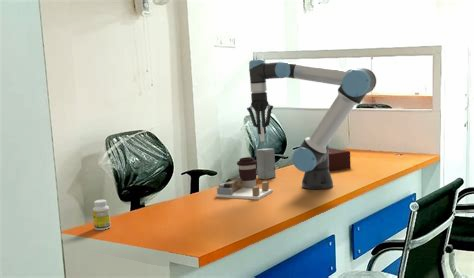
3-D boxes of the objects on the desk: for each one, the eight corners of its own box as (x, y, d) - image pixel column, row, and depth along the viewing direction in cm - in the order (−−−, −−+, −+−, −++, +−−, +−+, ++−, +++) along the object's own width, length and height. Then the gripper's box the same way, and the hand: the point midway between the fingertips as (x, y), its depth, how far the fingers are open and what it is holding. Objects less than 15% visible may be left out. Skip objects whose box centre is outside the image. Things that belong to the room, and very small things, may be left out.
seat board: (272, 191, 266) (272, 181, 266) (259, 199, 252) (258, 188, 252) (231, 189, 276) (230, 179, 275) (216, 196, 262) (215, 185, 261)
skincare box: (265, 179, 295) (264, 150, 293) (256, 178, 301) (255, 149, 299) (276, 177, 301) (275, 148, 299) (267, 175, 306) (266, 147, 304)
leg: (237, 187, 274) (236, 177, 273) (242, 187, 273) (242, 177, 272) (224, 193, 262) (223, 182, 261) (230, 193, 261) (229, 183, 260)
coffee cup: (254, 189, 271) (252, 159, 269) (235, 189, 275) (233, 159, 273) (261, 185, 280) (259, 156, 278) (243, 185, 284) (241, 156, 282)
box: (352, 168, 318) (352, 150, 316) (330, 171, 310) (329, 154, 308) (329, 163, 336) (329, 147, 334) (307, 166, 328) (307, 150, 327)
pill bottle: (95, 226, 221) (93, 199, 219) (111, 225, 221) (109, 198, 220) (93, 231, 214) (90, 203, 213) (109, 230, 215) (107, 202, 214)
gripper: (269, 90, 272) (272, 138, 274) (243, 93, 269) (247, 141, 271) (274, 91, 264) (277, 140, 267) (247, 93, 261) (251, 143, 264)
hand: (262, 140), depth 269 cm, fingers closed
